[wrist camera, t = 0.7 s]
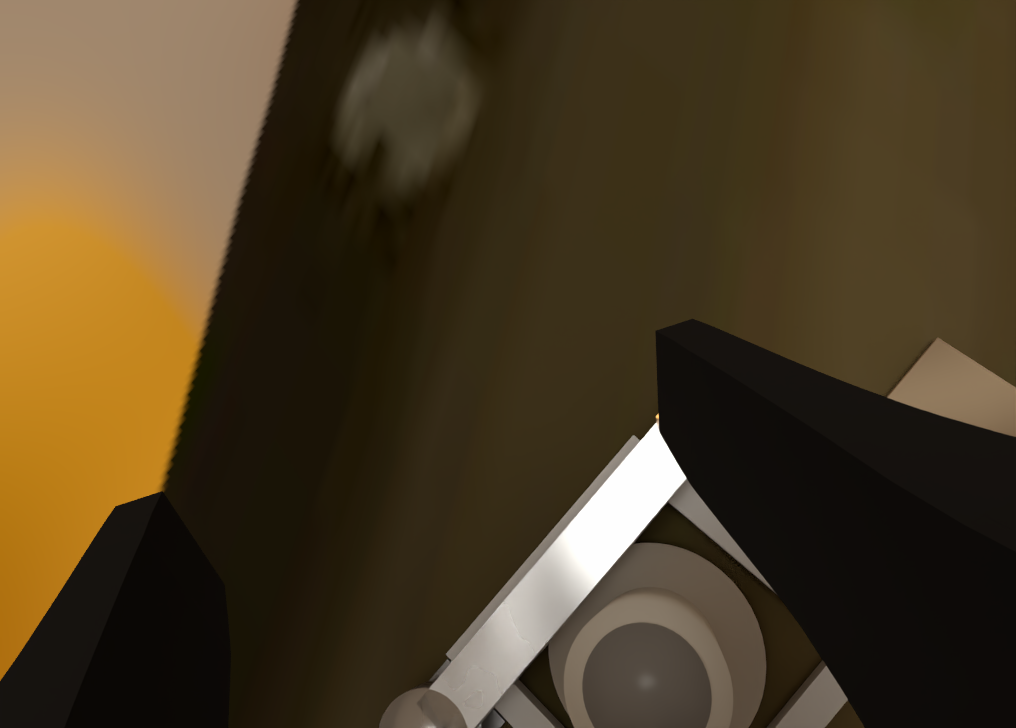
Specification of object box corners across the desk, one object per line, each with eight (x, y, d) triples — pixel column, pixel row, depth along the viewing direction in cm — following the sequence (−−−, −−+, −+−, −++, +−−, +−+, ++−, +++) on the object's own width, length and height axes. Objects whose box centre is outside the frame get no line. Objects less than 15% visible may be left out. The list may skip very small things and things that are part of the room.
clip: (755, 429, 23) (764, 417, 20) (438, 803, 22) (411, 833, 20) (681, 373, 24) (682, 355, 21) (377, 729, 23) (344, 749, 21)
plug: (806, 644, 22) (865, 690, 15) (669, 809, 22) (667, 930, 15) (640, 501, 24) (627, 485, 18) (515, 649, 24) (450, 691, 17)
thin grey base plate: (507, 718, 24) (496, 730, 22) (453, 782, 24) (438, 798, 22) (450, 657, 25) (436, 664, 23) (398, 718, 25) (380, 729, 23)
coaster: (1177, 500, 21) (1189, 499, 20) (1010, 705, 21) (1018, 709, 20) (932, 341, 24) (937, 337, 23) (781, 520, 23) (783, 520, 23)
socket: (883, 643, 22) (891, 647, 21) (677, 893, 21) (677, 905, 21) (634, 438, 25) (633, 434, 24) (453, 651, 25) (445, 654, 24)
